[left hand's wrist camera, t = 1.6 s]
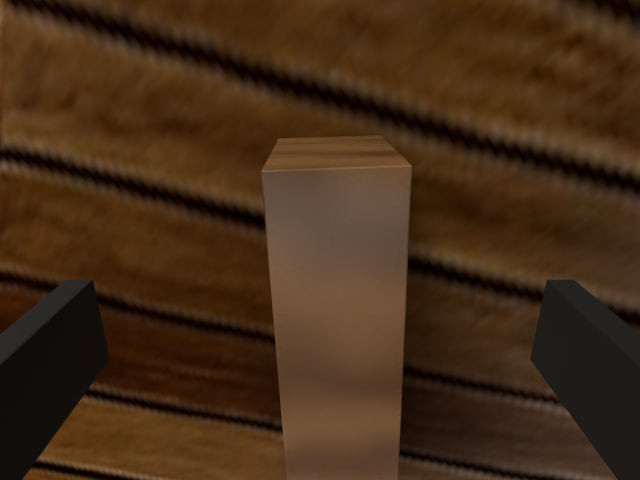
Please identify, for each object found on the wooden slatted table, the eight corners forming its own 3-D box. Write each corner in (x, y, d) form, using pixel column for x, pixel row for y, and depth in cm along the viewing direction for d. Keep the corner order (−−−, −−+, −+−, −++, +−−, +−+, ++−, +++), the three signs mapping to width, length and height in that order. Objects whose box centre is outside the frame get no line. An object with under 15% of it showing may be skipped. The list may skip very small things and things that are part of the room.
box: (278, 138, 26) (260, 170, 17) (381, 134, 26) (412, 165, 17) (301, 486, 36) (297, 609, 28) (375, 484, 36) (392, 606, 28)
